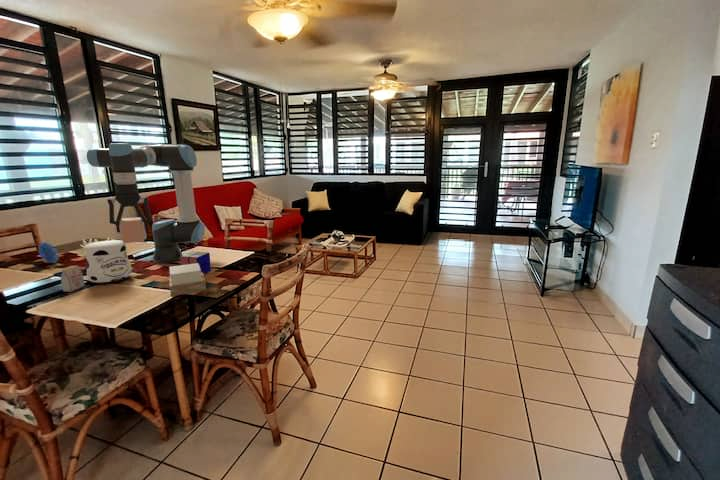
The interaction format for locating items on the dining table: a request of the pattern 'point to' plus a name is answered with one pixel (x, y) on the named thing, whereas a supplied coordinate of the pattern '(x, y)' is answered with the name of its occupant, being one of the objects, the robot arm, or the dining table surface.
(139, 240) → the terracotta block
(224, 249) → the dining table surface
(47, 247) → the blue thick disc
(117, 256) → the milk container
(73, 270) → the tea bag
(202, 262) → the puzzle cube
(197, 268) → the tower top
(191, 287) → the tower base
